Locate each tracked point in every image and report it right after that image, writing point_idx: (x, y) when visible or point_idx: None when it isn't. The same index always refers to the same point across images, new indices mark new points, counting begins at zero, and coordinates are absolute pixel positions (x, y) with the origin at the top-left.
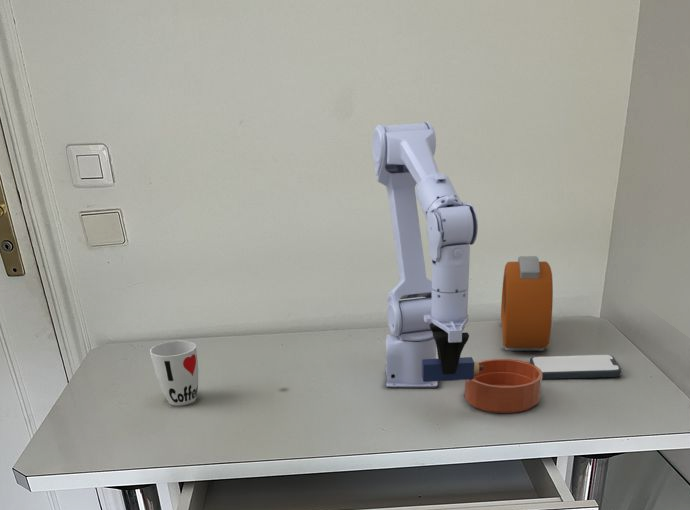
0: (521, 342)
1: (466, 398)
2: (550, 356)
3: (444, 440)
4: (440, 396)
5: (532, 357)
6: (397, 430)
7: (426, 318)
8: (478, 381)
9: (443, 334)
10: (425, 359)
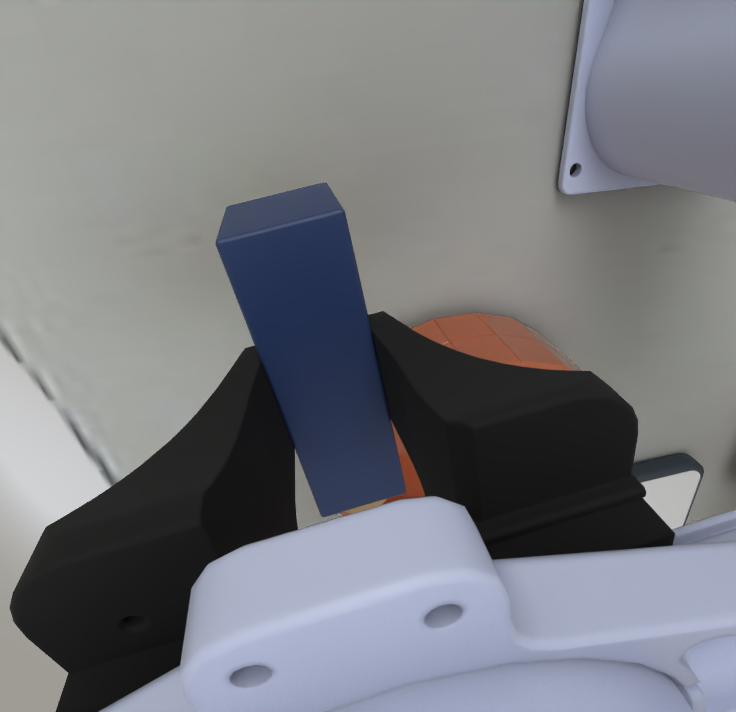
0: None
1: (418, 329)
2: (689, 506)
3: (48, 287)
4: (474, 216)
5: (701, 469)
6: (60, 41)
7: (183, 684)
8: (392, 425)
9: (139, 634)
10: (340, 240)
